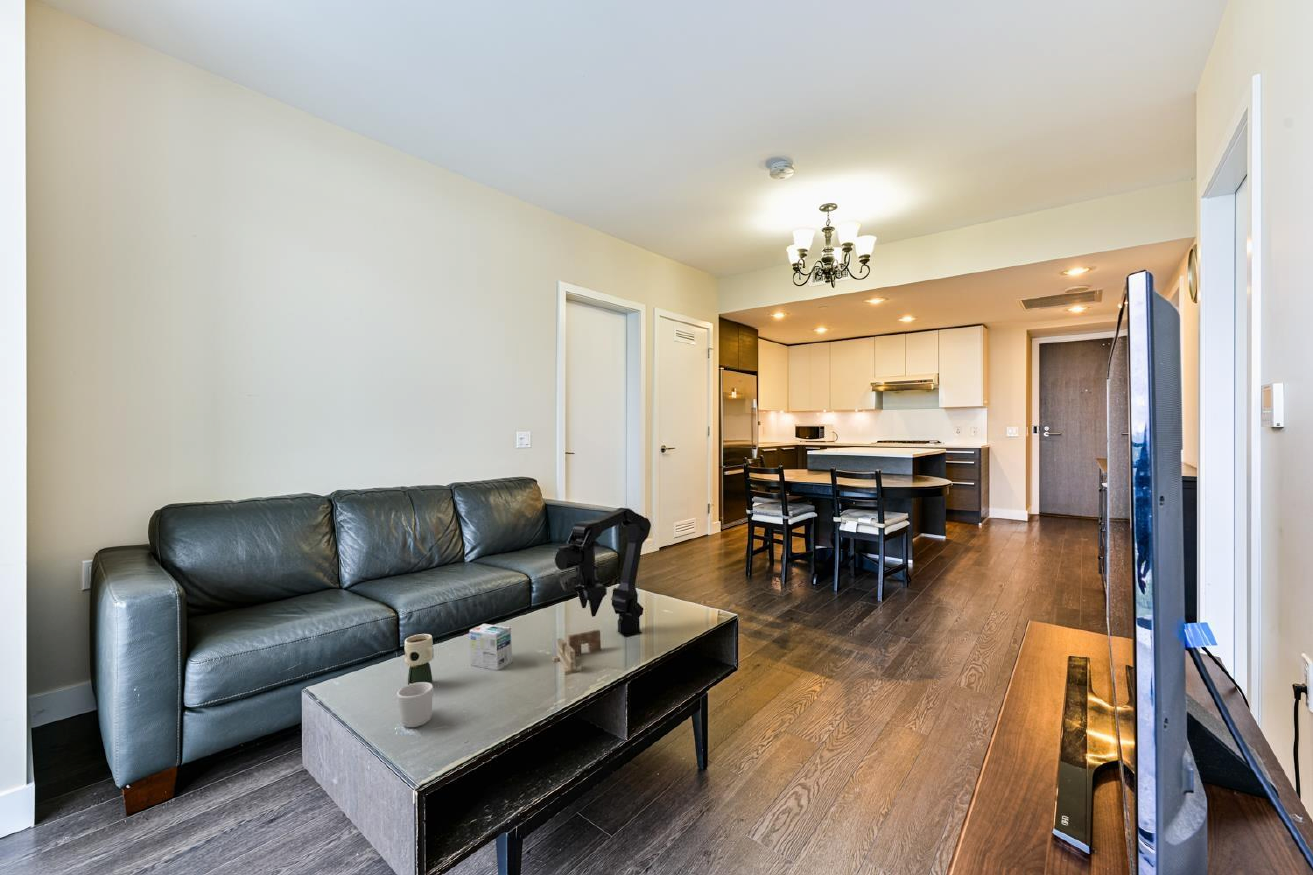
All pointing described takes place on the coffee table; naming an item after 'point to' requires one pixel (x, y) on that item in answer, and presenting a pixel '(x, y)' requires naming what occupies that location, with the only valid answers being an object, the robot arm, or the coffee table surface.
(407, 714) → the cup
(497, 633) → the light bulb box
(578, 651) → the walnut plate
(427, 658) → the character mug
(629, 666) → the coffee table surface
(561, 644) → the maple jig
